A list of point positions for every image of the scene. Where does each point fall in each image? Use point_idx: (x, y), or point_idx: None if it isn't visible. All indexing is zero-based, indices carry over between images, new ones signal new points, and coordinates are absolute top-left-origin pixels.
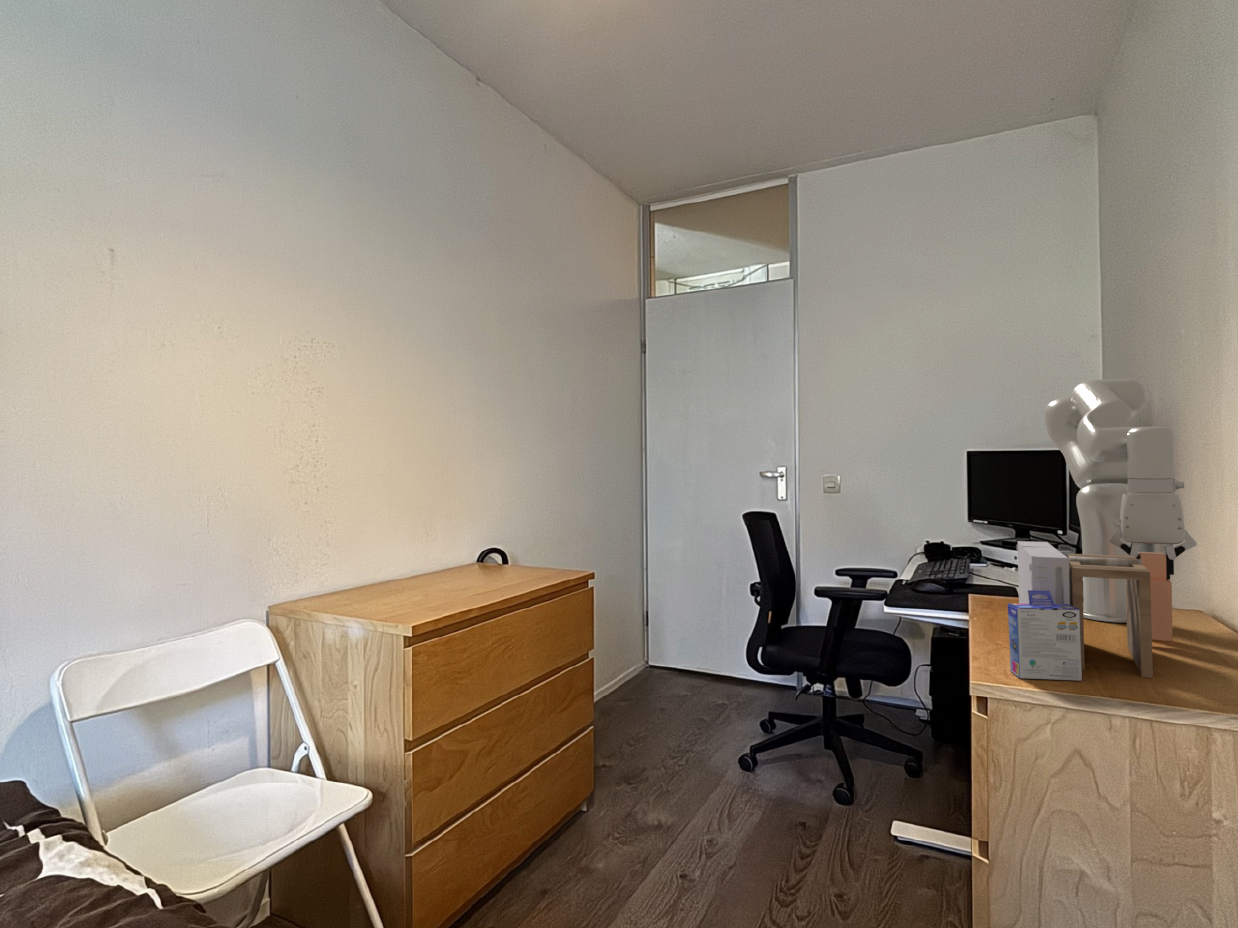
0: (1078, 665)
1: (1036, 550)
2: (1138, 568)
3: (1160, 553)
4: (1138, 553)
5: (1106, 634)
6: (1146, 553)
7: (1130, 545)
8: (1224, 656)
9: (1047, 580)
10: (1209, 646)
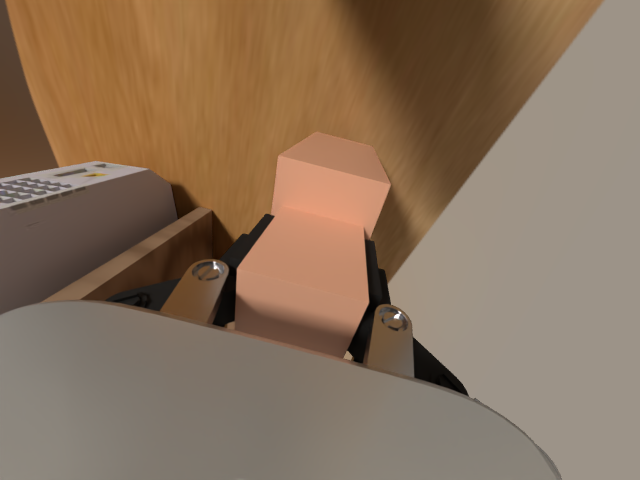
0: None
1: None
2: None
3: (340, 324)
4: (240, 273)
5: (265, 129)
6: (266, 326)
7: (164, 312)
8: (401, 258)
9: (35, 197)
10: (422, 194)
